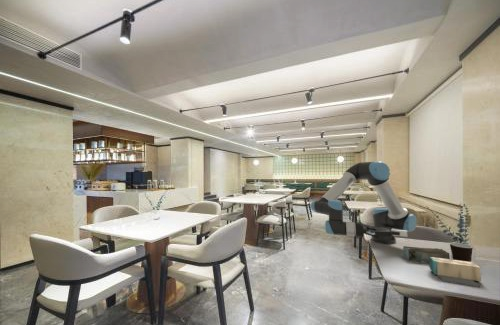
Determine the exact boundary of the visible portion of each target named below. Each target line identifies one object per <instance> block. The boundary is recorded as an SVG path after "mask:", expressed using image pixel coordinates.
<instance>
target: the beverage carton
mask: <svg viewBox="0 0 500 325" xmlns="http://www.w3.org/2000/svg"><path fill="white" fill-rule="evenodd" d="M403 257H404V258H405V259H407V260H408V261H410V262H419V263H429V264H430V257H435V258H443V259H451V257H450V252H447V251H446V250H444V249H443V248H432V247H417V246H415V247H414V246H405V245H404V246H403Z"/></svg>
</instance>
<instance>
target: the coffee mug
mask: <svg viewBox="0 0 500 325" xmlns="http://www.w3.org/2000/svg"><path fill="white" fill-rule="evenodd" d="M449 247H450V251H451V255H452V256H451V258H452V260H459V261H467V262H472V256H473V249H474V248H473V246H472V245H469V244H465V243H461V242H449Z"/></svg>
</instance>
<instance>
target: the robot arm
mask: <svg viewBox="0 0 500 325" xmlns="http://www.w3.org/2000/svg"><path fill="white" fill-rule="evenodd" d="M390 175H391V172H390V167H389V166H388V164H387V163H385V162H384V161H378V160H375V161H365V162H361V161H360V162H356V163H355V164H353V165H351V166H350V167H348V169H346V170H345V171H344V172H343V174H342V176H341V178H339V179H338V180H337V182H335V183H334V185H332V186H331V187H330V188H329V189H328V190H327V191H326V192H325V194H323V195H322V196H321V198H319V199H318V200H316V199H315V200H313V201H312V202H311V204H310V208H311V210H312V212H315V213H317V214H320V215H321V214H323V215H326V216H328V220H325V226H324V228H325V233H326V234H329V235H333V236H335V235H337V236H348V237H349V238H351V237H355V236H356V237H358V238H364V236H365V235H368V236H371V240H372V241H374V242H375V243H376V242H377V243H381V244H390V245H392V244H395V243H396V244H397V239H396V237H406V238H408V233H410V232H414V230H415V229H416V228H417V223H418V221H417V220H418V219H417V216H416V215H415V214H413V213H409V211H408V209H407V208H406V207H403V206H402V204H401V202H400V201H399V198H398V196H397V195H396V192H395V191H394V189H393V187H392V186H391V184H390V182H389V179H390ZM361 180H362V181H363V180H364V181H365V180H366V181H367V182H368V184H369V185H370V186H373V187H374V189H375V190H376V192H377V194H378V195H379V197H380V199H381V201H382V202H383V204H384V206H385V208H383V207H382V208H375V209H373V212H372V217H373V219H372V220H373V221H372V222H373V225H366V226H364V224H363V222H353V221H344V218H343V216H344V215H343V213H344V212H343V203H342V202H343V201H341V200H340V199H339V198H340V197H341V196H342V194H344V193H345V192H346V190H348V188H350V186H352V184H356V183H357V181H361ZM364 234H365V235H364Z"/></svg>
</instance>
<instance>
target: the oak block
mask: <svg viewBox="0 0 500 325" xmlns="http://www.w3.org/2000/svg"><path fill="white" fill-rule="evenodd" d="M429 266H430V267H429V270H430V271H431V272H432V273H433V274H434V275H435V276H438V275H443V276H449V277H456V278H463V279H469V280H473V281H477V282H482V274H481V273H482V271H481V267H480V266H479V265H477V264H476V263H475V262H473V261H471V262H467V261H459V260H453V259H451V258H450V259H443V258H435V257H430V263H429Z"/></svg>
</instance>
